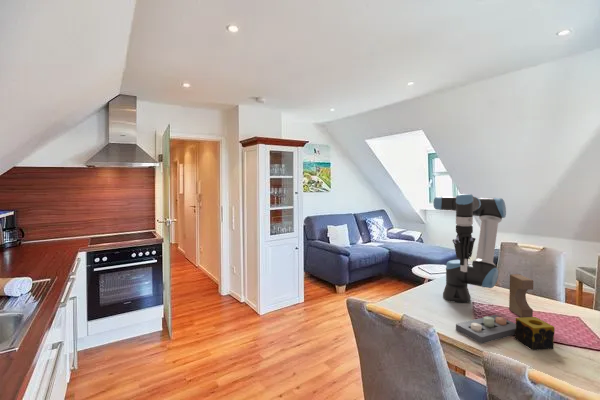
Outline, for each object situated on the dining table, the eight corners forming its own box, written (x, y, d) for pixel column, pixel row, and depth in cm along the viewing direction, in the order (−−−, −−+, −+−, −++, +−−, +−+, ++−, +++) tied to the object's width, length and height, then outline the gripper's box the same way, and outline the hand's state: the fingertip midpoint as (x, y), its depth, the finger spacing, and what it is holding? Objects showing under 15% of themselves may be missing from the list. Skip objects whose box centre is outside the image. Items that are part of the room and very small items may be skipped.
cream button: (468, 331, 148) (468, 323, 148) (475, 330, 149) (475, 322, 149) (476, 336, 144) (476, 327, 144) (483, 334, 145) (483, 326, 145)
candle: (513, 338, 142) (514, 317, 141) (534, 337, 143) (535, 316, 142) (532, 351, 132) (532, 328, 131) (554, 349, 133) (555, 326, 132)
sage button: (481, 325, 151) (481, 317, 150) (487, 323, 152) (488, 315, 152) (489, 329, 146) (489, 321, 146) (496, 327, 148) (496, 319, 148)
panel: (455, 329, 152) (455, 323, 151) (494, 320, 160) (495, 314, 160) (481, 343, 138) (481, 337, 138) (522, 332, 147) (522, 326, 147)
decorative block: (533, 318, 162) (534, 280, 160) (521, 318, 162) (522, 280, 161) (519, 309, 173) (520, 274, 171) (508, 309, 173) (509, 274, 172)
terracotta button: (493, 325, 153) (493, 317, 153) (499, 324, 155) (499, 316, 155) (501, 329, 149) (501, 321, 149) (508, 328, 151) (508, 320, 150)
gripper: (460, 227, 150) (460, 275, 152) (480, 224, 155) (479, 271, 157) (448, 224, 158) (447, 270, 159) (467, 223, 162) (467, 267, 164)
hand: (463, 271), depth 158 cm, fingers closed
